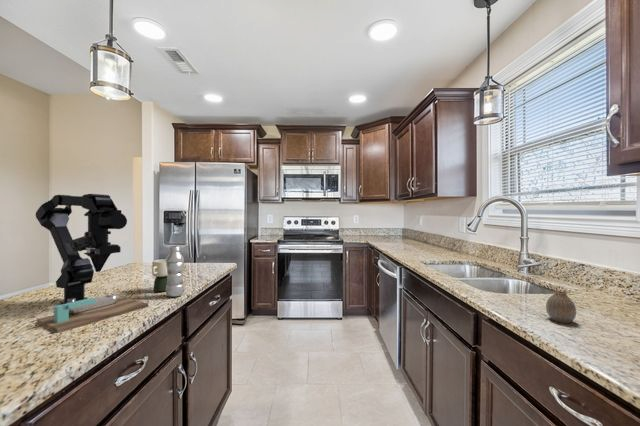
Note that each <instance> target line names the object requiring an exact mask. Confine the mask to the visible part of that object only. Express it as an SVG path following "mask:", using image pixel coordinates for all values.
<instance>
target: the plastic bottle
mask: <svg viewBox="0 0 640 426" xmlns="http://www.w3.org/2000/svg"><path fill="white" fill-rule="evenodd" d="M180 251H181V245H170V246H169V253H168V255H167V256H166V257H165V259H166V266H167V273H168V274H167V276H168V277H167V286H166V290H165V294H166V295H167V297H173V298H175V297H179V296H182V295H183V294H184V292H185V284H184V277H183V271H184V261H185V258H184V256H183V254H182V253H181V252H180Z"/></svg>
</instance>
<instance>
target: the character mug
mask: <svg viewBox="0 0 640 426" xmlns="http://www.w3.org/2000/svg"><path fill="white" fill-rule="evenodd" d="M151 274H152V276H153V277H155V278H154V283H153V291H154V292H159V293H160V292H161V291H162V292H163V291H165V292H166V286H167V277H168V276H167V274H168V273H167V266H166V258H165V259H156V260H152V266H151Z"/></svg>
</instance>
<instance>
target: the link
mask: <svg viewBox="0 0 640 426" xmlns="http://www.w3.org/2000/svg"><path fill="white" fill-rule="evenodd" d="M118 295H119V294H117V293H116V294H108V295H103V296H99V297H94V298H95V299H96V303H92V304H88V305H84V306H79V307H75V308H71V309H69V314H74V313H78V312H82V311H86V310H89V309H93V308H97V307H101V306H105V305H109V304H113V303H116V302H118V299H119V298H118ZM75 301H76V298H69V299H67V303H71V302H75Z"/></svg>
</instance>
